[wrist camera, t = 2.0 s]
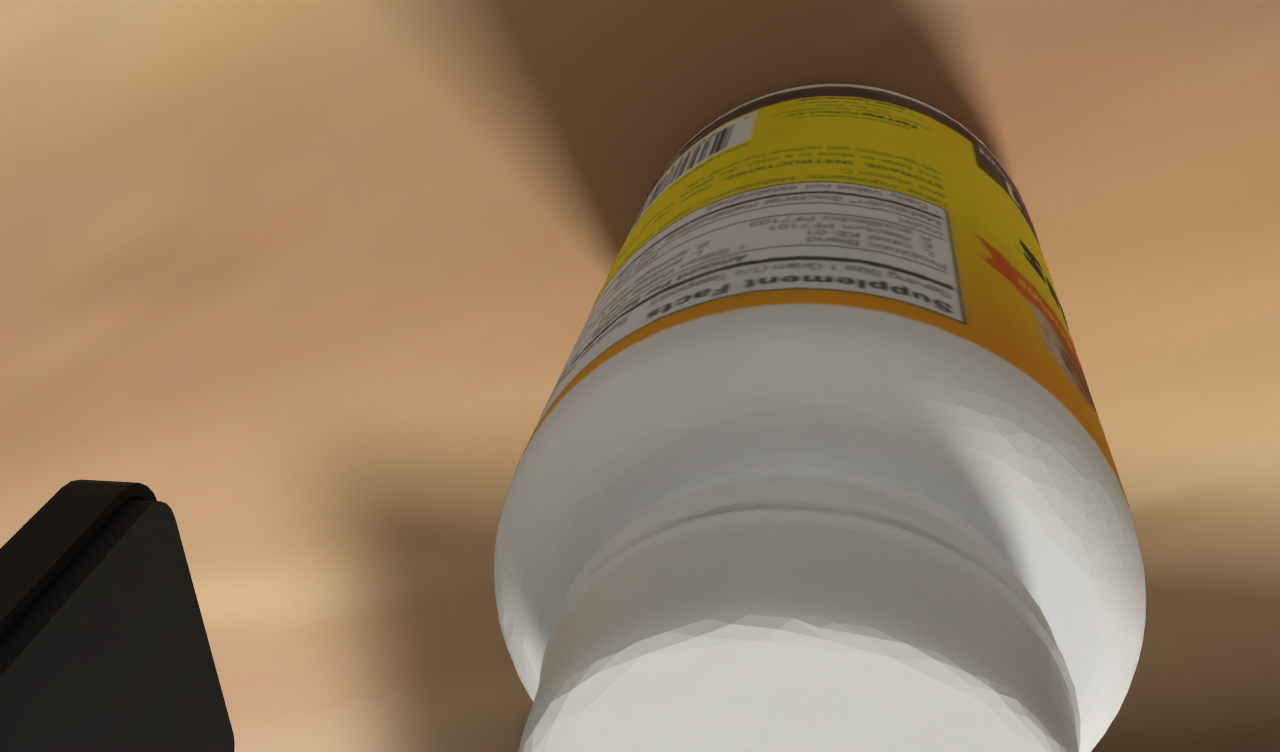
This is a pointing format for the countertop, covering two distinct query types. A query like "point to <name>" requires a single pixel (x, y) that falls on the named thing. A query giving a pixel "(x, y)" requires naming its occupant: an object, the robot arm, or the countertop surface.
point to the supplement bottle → (823, 463)
